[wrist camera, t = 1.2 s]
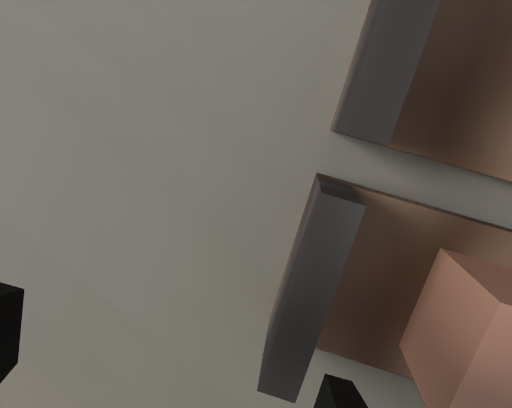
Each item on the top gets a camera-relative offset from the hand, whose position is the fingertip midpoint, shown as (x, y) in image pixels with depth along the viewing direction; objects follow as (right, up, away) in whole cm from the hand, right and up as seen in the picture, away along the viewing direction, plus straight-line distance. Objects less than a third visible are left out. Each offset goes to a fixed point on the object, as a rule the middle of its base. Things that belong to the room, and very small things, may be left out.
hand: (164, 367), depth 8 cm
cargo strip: (+10, 0, +9) cm, 13 cm away
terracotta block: (+12, -1, +8) cm, 14 cm away
